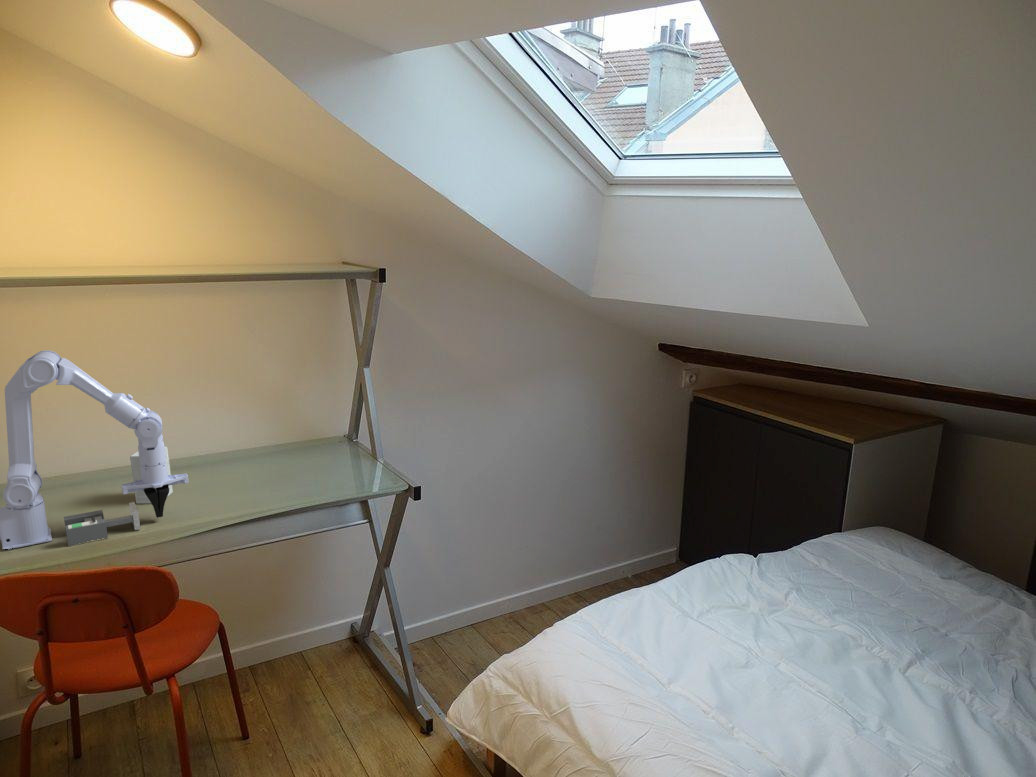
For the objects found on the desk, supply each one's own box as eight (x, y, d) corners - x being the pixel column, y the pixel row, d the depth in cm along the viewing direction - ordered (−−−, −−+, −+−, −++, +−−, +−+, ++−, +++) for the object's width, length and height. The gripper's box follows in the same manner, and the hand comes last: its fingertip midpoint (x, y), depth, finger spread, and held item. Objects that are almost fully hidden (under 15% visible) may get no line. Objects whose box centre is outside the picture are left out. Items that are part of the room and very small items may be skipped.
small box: (150, 492, 208) (144, 446, 205) (173, 492, 208) (168, 446, 205) (135, 503, 200) (129, 455, 197) (159, 503, 200) (153, 455, 197)
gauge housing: (68, 546, 175) (65, 529, 174) (66, 532, 182) (63, 515, 181) (108, 538, 179) (105, 521, 178) (104, 525, 187) (101, 508, 186)
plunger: (88, 540, 177) (85, 522, 176) (85, 529, 184) (82, 511, 183) (140, 530, 183) (138, 512, 182) (136, 519, 189) (134, 501, 188)
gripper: (121, 472, 179) (128, 527, 182) (188, 461, 186) (194, 514, 189) (118, 464, 184) (124, 517, 187) (183, 454, 192) (188, 505, 195)
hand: (159, 515), depth 189 cm, fingers closed
